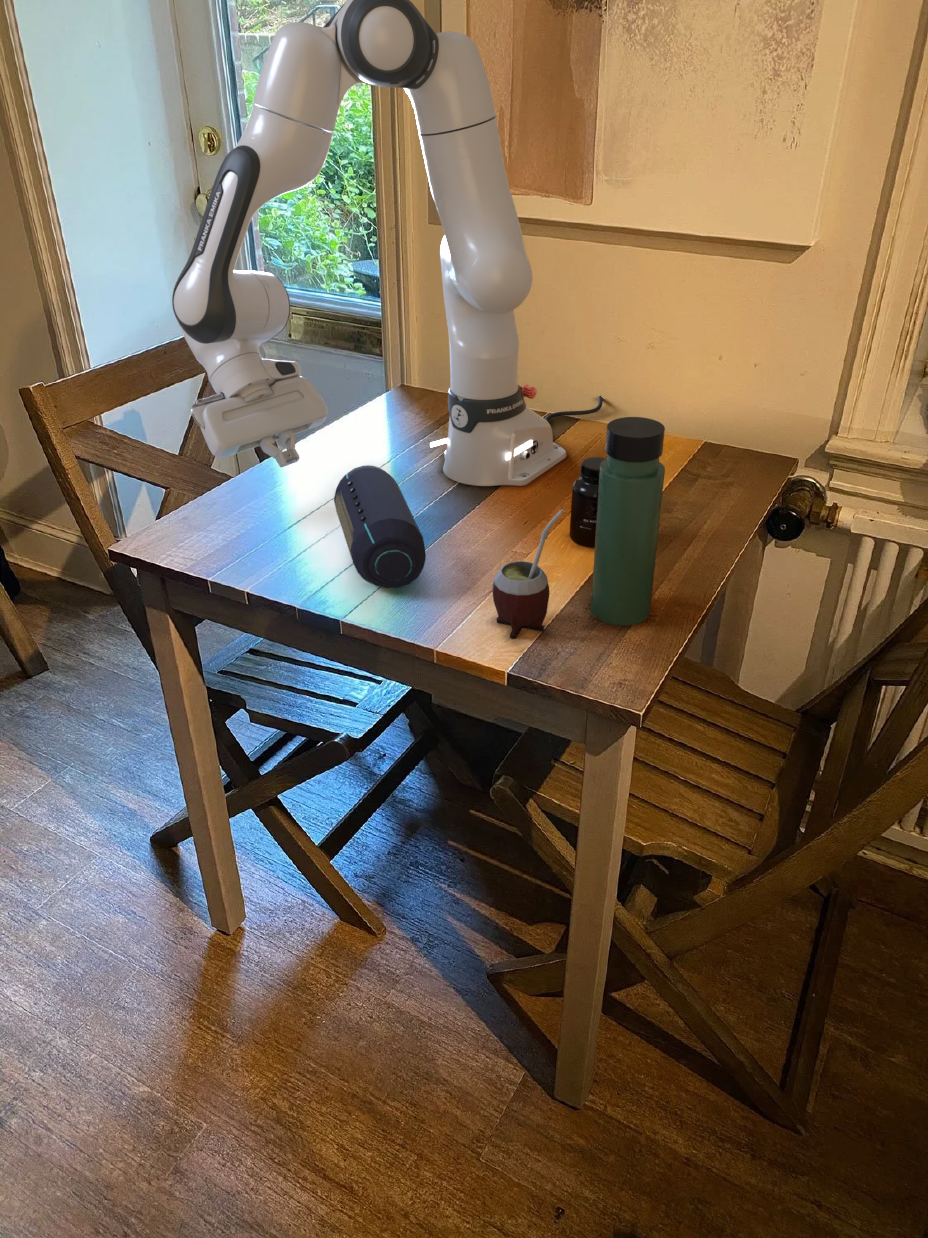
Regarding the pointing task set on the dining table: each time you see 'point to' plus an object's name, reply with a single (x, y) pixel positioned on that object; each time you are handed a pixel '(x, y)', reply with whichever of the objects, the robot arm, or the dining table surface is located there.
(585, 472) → the supplement bottle
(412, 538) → the portable speaker
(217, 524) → the dining table surface
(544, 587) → the mate gourd
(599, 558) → the thermos
